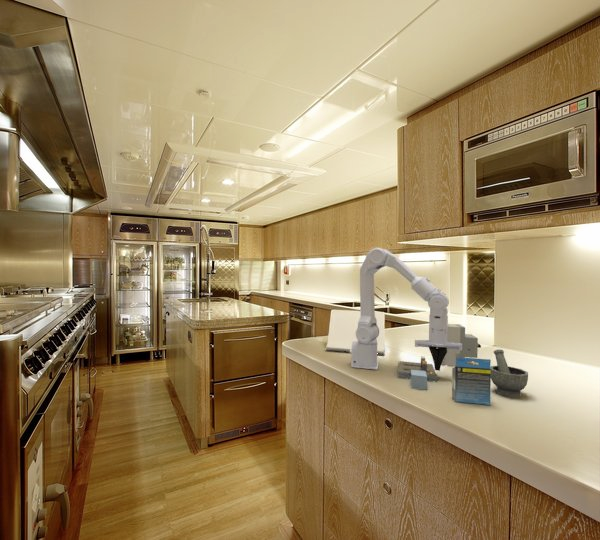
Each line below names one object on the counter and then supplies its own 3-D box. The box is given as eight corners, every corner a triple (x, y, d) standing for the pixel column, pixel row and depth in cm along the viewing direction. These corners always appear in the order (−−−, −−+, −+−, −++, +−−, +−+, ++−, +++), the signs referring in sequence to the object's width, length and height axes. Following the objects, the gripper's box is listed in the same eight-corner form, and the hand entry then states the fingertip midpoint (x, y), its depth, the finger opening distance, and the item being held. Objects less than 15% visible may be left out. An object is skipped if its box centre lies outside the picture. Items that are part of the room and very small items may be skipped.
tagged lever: (422, 371, 109) (422, 362, 109) (421, 368, 111) (422, 360, 111) (426, 371, 108) (426, 362, 108) (426, 369, 111) (426, 360, 111)
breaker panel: (398, 377, 108) (398, 370, 108) (397, 366, 122) (397, 359, 122) (436, 381, 105) (436, 374, 105) (431, 369, 119) (432, 363, 119)
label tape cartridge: (485, 400, 91) (486, 356, 91) (490, 405, 87) (491, 359, 87) (451, 396, 93) (452, 353, 93) (454, 402, 89) (455, 356, 89)
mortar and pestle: (536, 400, 91) (536, 357, 91) (502, 399, 91) (503, 356, 91) (510, 386, 103) (511, 348, 103) (480, 385, 103) (481, 347, 103)
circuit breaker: (482, 368, 122) (482, 328, 122) (441, 365, 125) (442, 326, 125) (475, 362, 129) (476, 325, 129) (437, 360, 132) (438, 323, 132)
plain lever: (421, 366, 115) (421, 357, 115) (420, 364, 117) (420, 356, 117) (425, 366, 114) (425, 358, 114) (424, 364, 117) (424, 356, 117)
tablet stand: (331, 343, 159) (331, 308, 160) (383, 347, 154) (384, 311, 154) (325, 352, 142) (326, 313, 142) (384, 357, 136) (385, 316, 136)
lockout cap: (411, 388, 99) (411, 374, 99) (410, 382, 104) (410, 369, 104) (426, 389, 98) (427, 376, 98) (425, 383, 103) (425, 371, 103)
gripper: (416, 329, 107) (415, 370, 107) (464, 332, 103) (463, 375, 103) (414, 326, 114) (413, 364, 114) (460, 329, 110) (459, 369, 110)
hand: (437, 369), depth 109 cm, fingers closed
